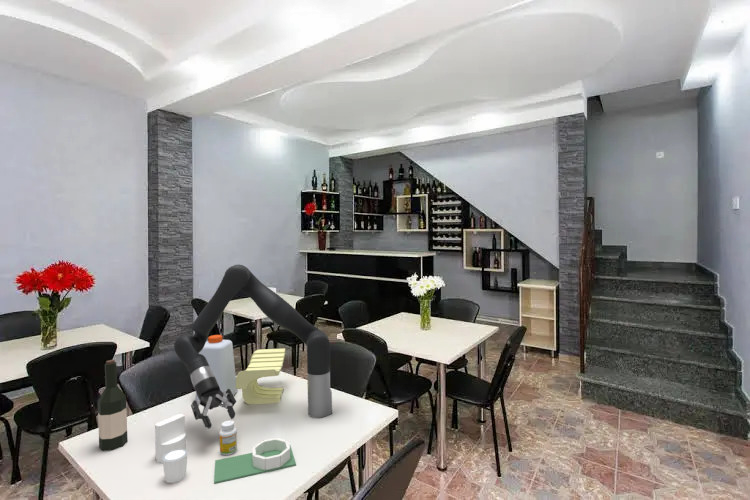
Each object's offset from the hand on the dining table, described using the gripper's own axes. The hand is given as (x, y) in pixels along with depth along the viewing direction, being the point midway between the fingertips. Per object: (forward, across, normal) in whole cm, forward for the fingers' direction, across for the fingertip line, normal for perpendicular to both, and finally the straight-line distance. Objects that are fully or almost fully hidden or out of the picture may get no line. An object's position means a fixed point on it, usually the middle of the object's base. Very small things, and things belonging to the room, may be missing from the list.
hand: (221, 422), depth 132 cm
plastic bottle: (-23, +20, +36) cm, 47 cm away
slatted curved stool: (-11, +33, +23) cm, 42 cm away
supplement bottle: (+9, 0, +4) cm, 10 cm away
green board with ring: (+18, +2, -6) cm, 20 cm away
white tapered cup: (+9, -18, +3) cm, 20 cm away
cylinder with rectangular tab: (0, -13, +13) cm, 18 cm away
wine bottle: (-16, -23, +29) cm, 41 cm away
